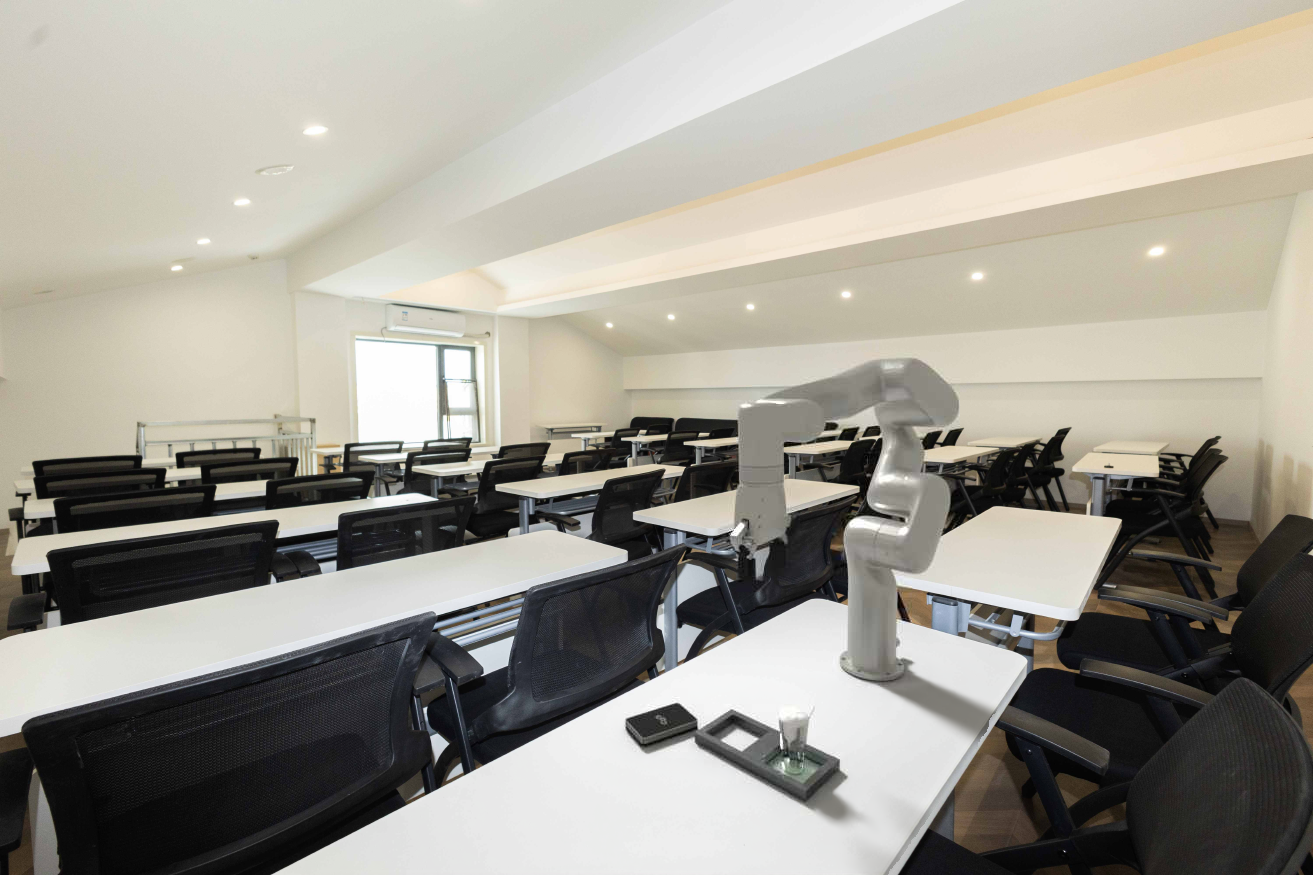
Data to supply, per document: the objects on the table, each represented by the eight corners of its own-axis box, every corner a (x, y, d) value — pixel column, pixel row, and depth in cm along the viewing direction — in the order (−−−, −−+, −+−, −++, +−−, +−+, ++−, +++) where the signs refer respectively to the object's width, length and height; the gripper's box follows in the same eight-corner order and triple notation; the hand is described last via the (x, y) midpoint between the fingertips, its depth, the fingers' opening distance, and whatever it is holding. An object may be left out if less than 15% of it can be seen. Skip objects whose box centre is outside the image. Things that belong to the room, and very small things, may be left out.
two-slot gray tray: (731, 717, 105) (731, 708, 105) (839, 769, 90) (839, 759, 90) (694, 741, 98) (694, 732, 98) (805, 801, 83) (805, 791, 83)
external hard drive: (699, 731, 101) (699, 720, 101) (642, 751, 96) (641, 739, 96) (678, 712, 108) (678, 701, 107) (623, 730, 102) (623, 718, 102)
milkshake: (814, 779, 88) (815, 715, 87) (777, 774, 89) (777, 710, 88) (813, 761, 92) (814, 699, 91) (778, 756, 93) (779, 695, 92)
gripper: (769, 466, 109) (771, 556, 111) (712, 480, 97) (715, 581, 98) (806, 469, 104) (807, 564, 106) (751, 484, 92) (753, 591, 93)
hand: (763, 572), depth 102 cm, fingers open, 9 cm apart
